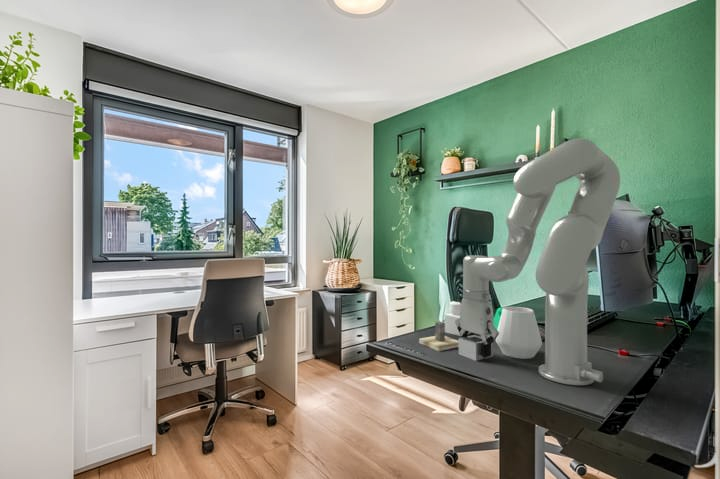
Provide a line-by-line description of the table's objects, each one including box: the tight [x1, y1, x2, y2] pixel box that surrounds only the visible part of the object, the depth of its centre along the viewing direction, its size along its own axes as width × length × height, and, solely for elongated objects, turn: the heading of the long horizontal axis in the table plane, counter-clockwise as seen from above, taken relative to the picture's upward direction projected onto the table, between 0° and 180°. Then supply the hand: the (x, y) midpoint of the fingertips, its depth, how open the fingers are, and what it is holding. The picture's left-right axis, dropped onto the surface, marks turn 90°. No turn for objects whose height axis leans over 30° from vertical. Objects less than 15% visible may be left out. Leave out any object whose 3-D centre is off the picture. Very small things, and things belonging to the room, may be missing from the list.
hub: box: [458, 334, 493, 362], centre depth 109 cm, size 7×7×5 cm
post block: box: [418, 321, 459, 352], centre depth 120 cm, size 10×10×8 cm
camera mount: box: [493, 307, 504, 329], centre depth 133 cm, size 12×8×10 cm, turn 12°
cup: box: [495, 306, 543, 360], centre depth 111 cm, size 13×13×14 cm
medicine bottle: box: [444, 300, 472, 337], centre depth 135 cm, size 7×7×12 cm
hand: (475, 352), depth 109 cm, fingers open, 7 cm apart
